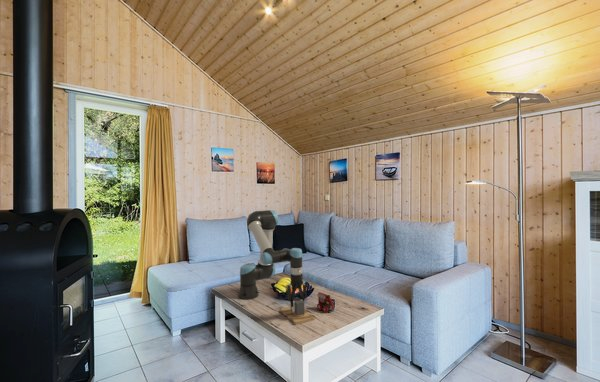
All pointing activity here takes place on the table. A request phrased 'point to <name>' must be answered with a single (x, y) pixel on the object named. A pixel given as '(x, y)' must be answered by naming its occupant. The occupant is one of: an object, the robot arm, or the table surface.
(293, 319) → the board
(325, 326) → the table surface
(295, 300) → the block
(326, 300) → the toy fire truck
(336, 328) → the table surface
